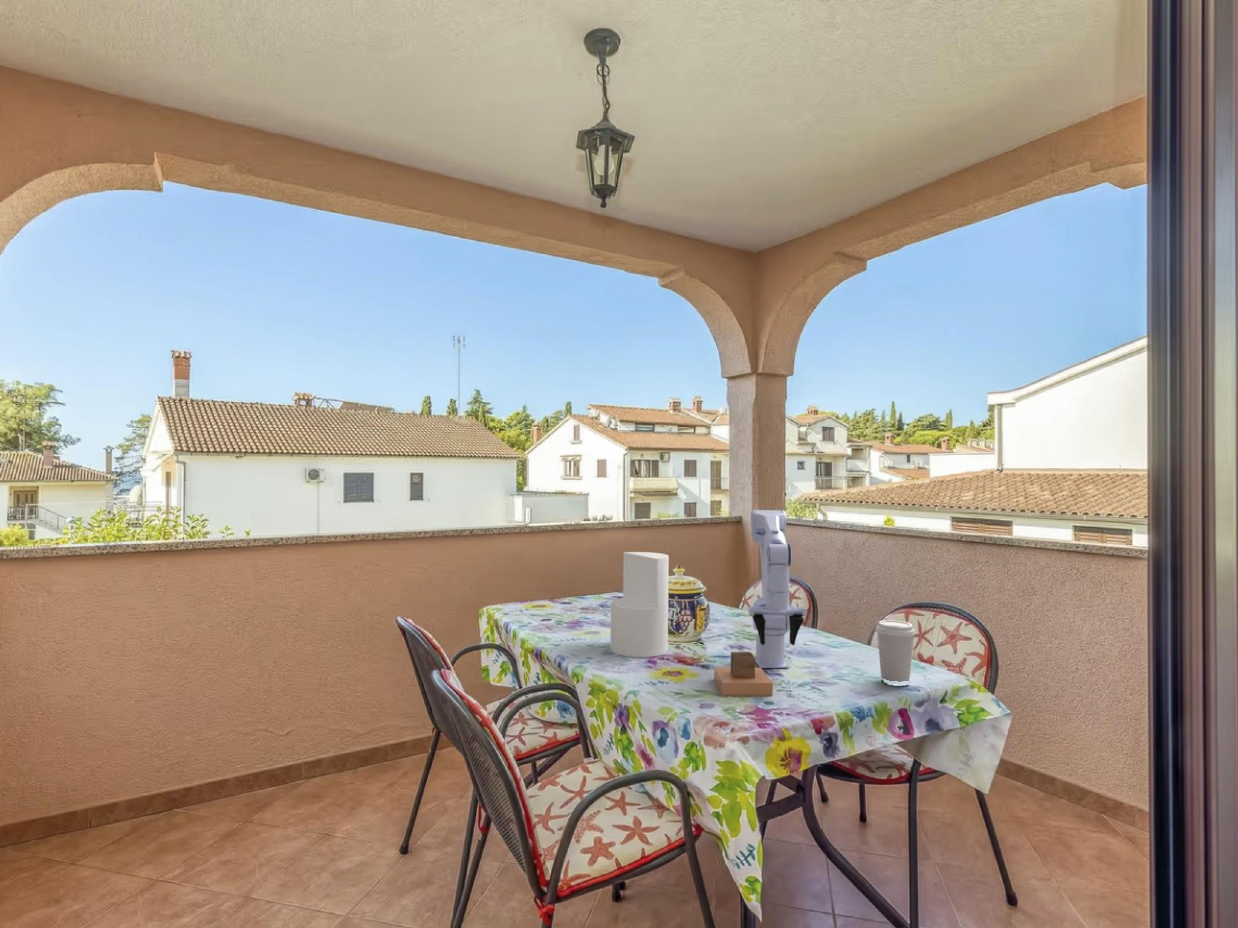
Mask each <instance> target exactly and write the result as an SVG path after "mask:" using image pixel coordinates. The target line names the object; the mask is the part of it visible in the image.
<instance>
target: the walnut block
mask: <svg viewBox="0 0 1238 928" xmlns="http://www.w3.org/2000/svg"><path fill="white" fill-rule="evenodd" d="M730 668H731V673H732V675H733V677H734V678H755V668H756V662H755V657H754V655H753V653H752V652H750V651H731V652H730Z"/></svg>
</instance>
